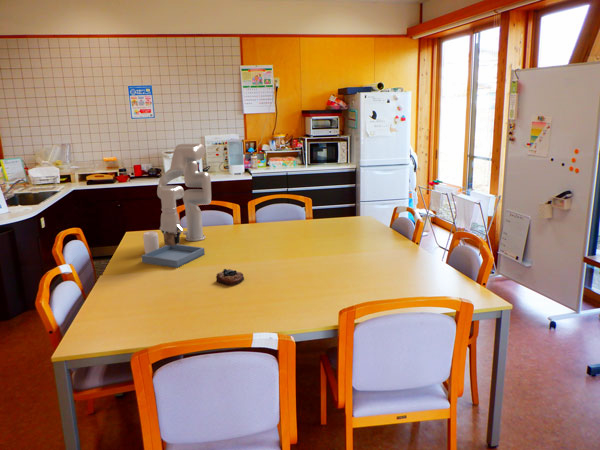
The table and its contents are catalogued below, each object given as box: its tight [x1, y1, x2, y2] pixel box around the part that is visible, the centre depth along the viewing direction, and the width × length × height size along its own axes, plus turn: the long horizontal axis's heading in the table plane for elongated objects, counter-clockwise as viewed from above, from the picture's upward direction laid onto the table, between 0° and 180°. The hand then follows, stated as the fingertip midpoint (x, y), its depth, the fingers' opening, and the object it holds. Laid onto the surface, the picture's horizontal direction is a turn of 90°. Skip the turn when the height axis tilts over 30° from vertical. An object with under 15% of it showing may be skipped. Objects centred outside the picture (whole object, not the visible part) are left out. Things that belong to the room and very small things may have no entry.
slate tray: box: [140, 244, 206, 269], centre depth 264 cm, size 24×24×4 cm
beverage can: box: [142, 230, 160, 254], centre depth 274 cm, size 8×8×12 cm
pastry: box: [215, 268, 245, 287], centre depth 229 cm, size 11×12×6 cm
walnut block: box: [163, 232, 181, 246], centre depth 261 cm, size 6×6×6 cm
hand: (172, 242), depth 262 cm, fingers closed on walnut block, 6 cm apart
